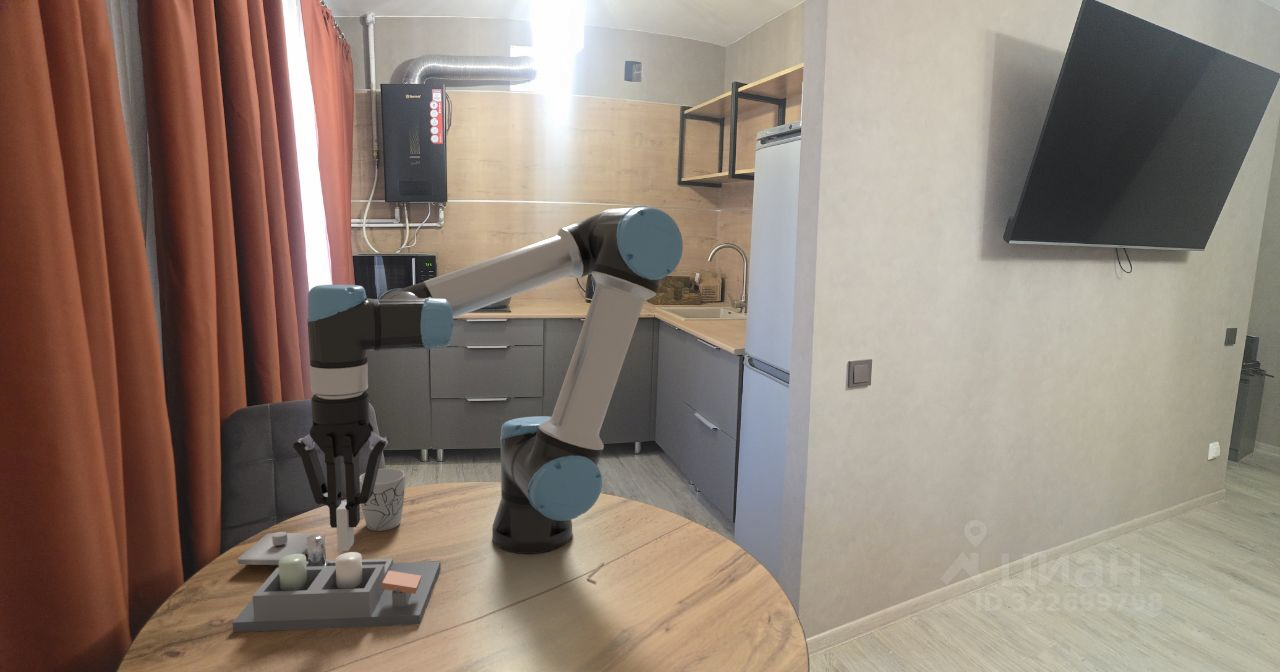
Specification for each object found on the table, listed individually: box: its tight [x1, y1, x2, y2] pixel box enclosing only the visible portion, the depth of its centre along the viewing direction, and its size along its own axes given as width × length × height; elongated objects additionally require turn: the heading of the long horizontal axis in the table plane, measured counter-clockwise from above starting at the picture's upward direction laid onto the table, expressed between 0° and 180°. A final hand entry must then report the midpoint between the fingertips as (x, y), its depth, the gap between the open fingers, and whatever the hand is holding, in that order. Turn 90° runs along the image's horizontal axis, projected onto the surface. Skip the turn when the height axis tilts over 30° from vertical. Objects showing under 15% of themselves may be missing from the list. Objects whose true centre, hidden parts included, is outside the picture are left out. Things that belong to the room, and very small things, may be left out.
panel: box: [231, 558, 442, 633], centre depth 103 cm, size 26×16×6 cm, turn 96°
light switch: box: [237, 531, 315, 566], centre depth 114 cm, size 10×10×5 cm
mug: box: [360, 468, 406, 532], centre depth 130 cm, size 11×8×10 cm
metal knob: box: [307, 533, 330, 567], centre depth 107 cm, size 3×3×6 cm
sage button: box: [278, 554, 307, 591], centre depth 98 cm, size 4×4×4 cm
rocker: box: [381, 571, 421, 594], centre depth 100 cm, size 5×4×1 cm
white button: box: [334, 551, 363, 589], centre depth 98 cm, size 4×4×4 cm
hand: (346, 546), depth 98 cm, fingers closed
